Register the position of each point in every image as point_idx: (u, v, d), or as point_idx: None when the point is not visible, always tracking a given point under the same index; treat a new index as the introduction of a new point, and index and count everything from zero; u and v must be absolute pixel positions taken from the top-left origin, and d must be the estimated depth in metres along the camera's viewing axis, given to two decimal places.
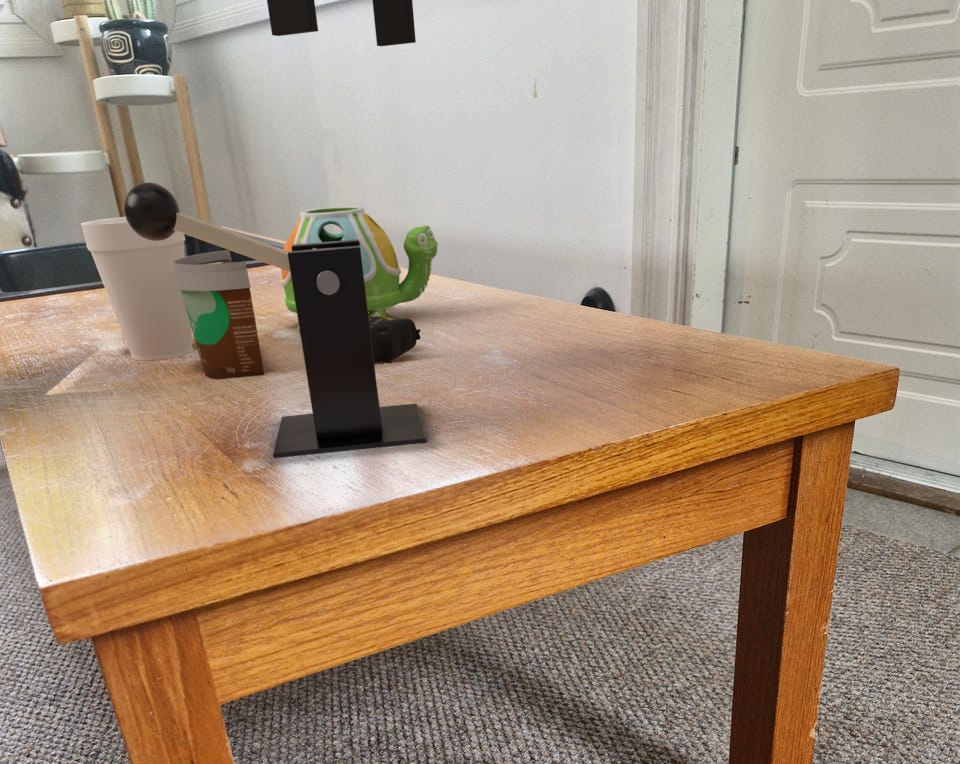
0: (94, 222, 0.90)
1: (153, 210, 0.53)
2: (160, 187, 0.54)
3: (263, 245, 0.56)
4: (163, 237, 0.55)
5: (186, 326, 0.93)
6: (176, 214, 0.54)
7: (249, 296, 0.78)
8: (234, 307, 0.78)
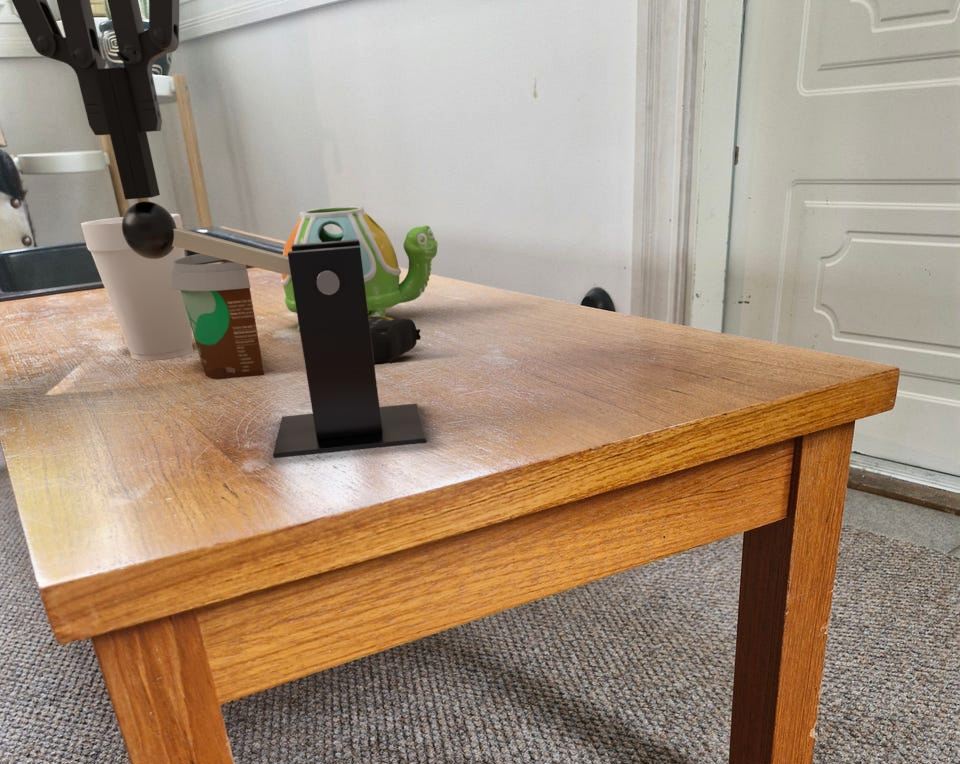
0: (94, 222, 0.90)
1: (150, 228, 0.54)
2: (155, 205, 0.54)
3: (261, 252, 0.56)
4: (163, 254, 0.55)
5: (186, 326, 0.93)
6: (173, 230, 0.55)
7: (249, 296, 0.78)
8: (234, 307, 0.78)
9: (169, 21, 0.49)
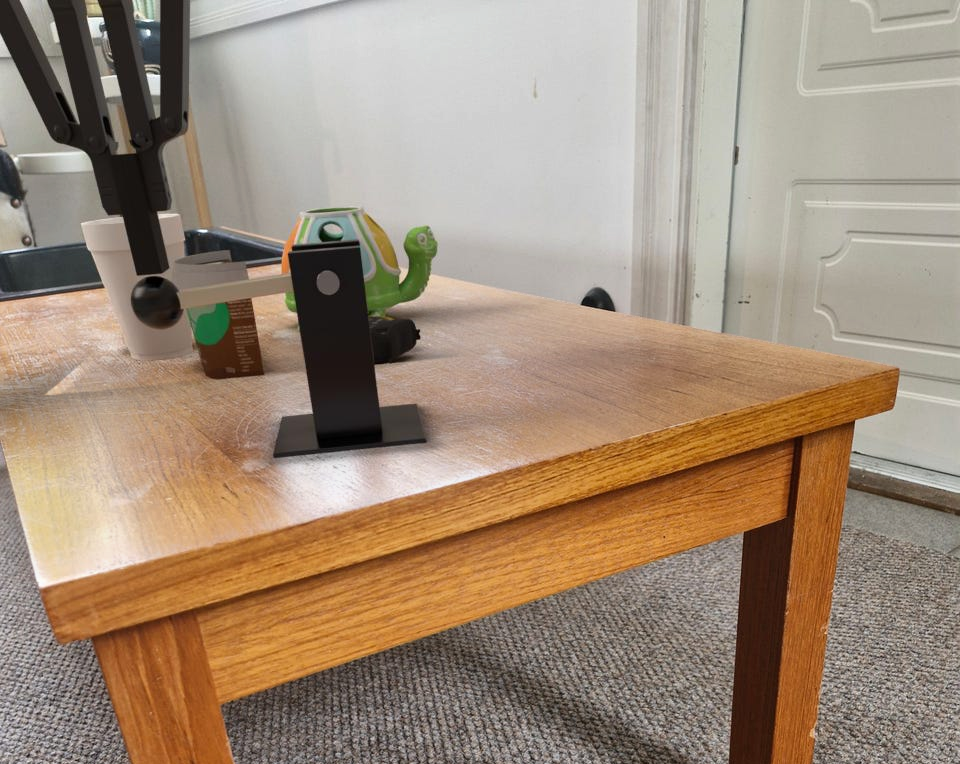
0: (94, 222, 0.90)
1: (156, 301, 0.55)
2: (153, 277, 0.56)
3: (260, 280, 0.57)
4: (176, 320, 0.57)
5: (186, 326, 0.93)
6: (176, 293, 0.56)
7: None
8: (234, 307, 0.78)
9: (179, 110, 0.51)
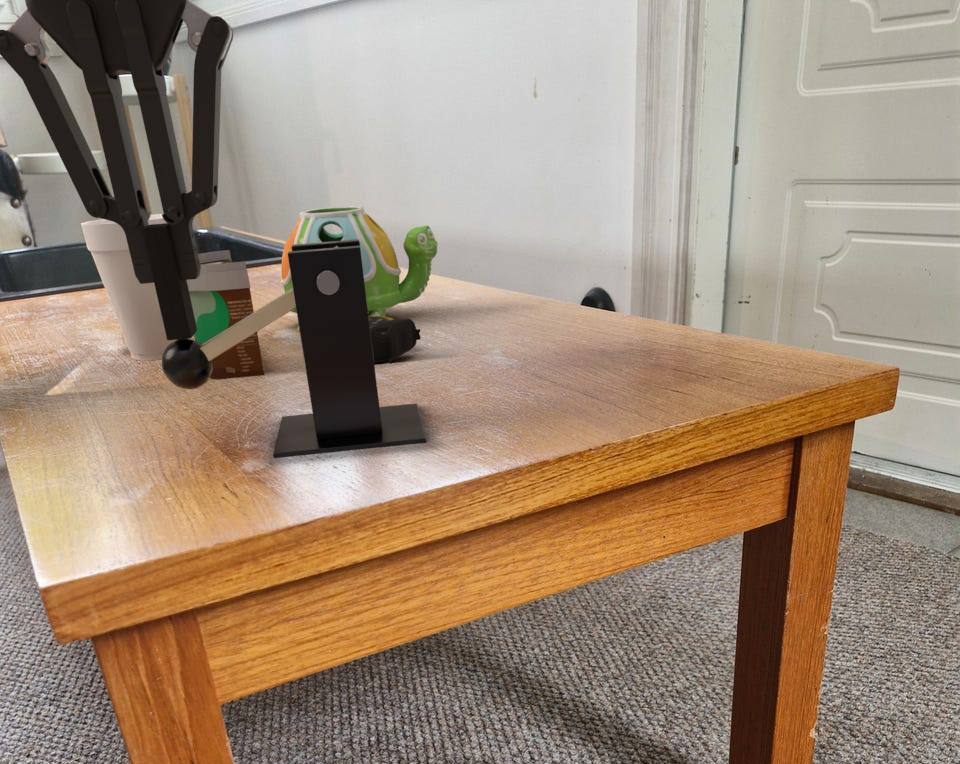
0: (94, 222, 0.90)
1: (184, 362, 0.57)
2: (174, 342, 0.58)
3: (268, 305, 0.57)
4: (208, 373, 0.59)
5: None
6: (200, 349, 0.58)
7: (249, 296, 0.78)
8: (234, 307, 0.78)
9: (210, 185, 0.53)
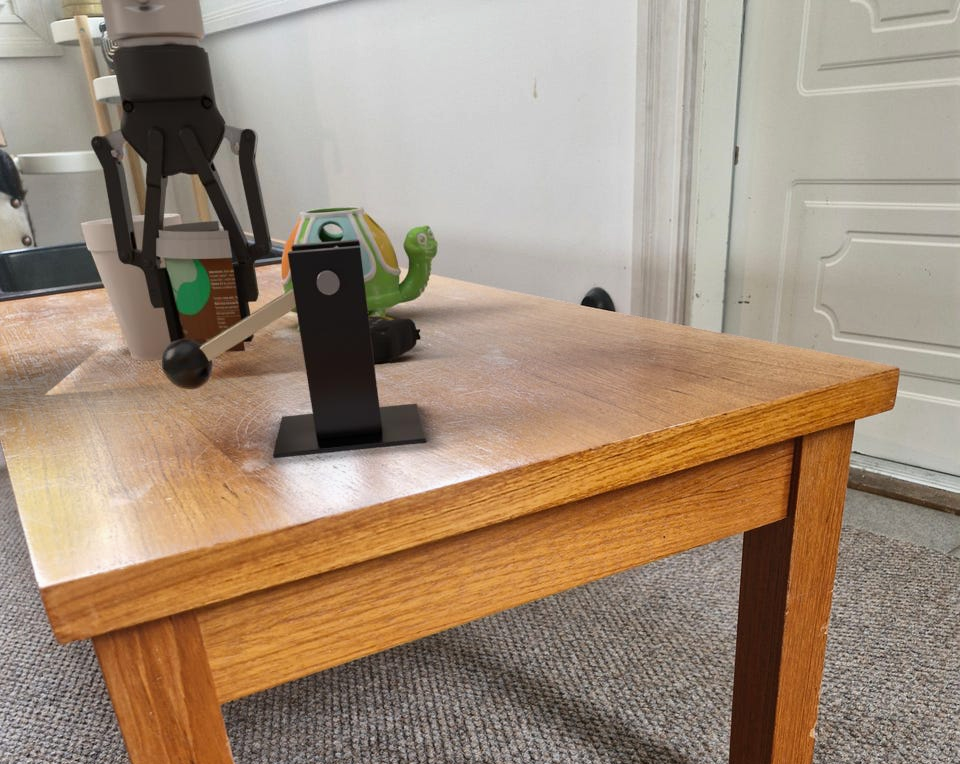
0: (94, 222, 0.90)
1: (184, 363, 0.57)
2: (174, 342, 0.58)
3: (268, 306, 0.57)
4: (208, 373, 0.59)
5: None
6: (200, 349, 0.58)
7: (231, 266, 0.77)
8: (216, 276, 0.77)
9: (266, 238, 0.79)
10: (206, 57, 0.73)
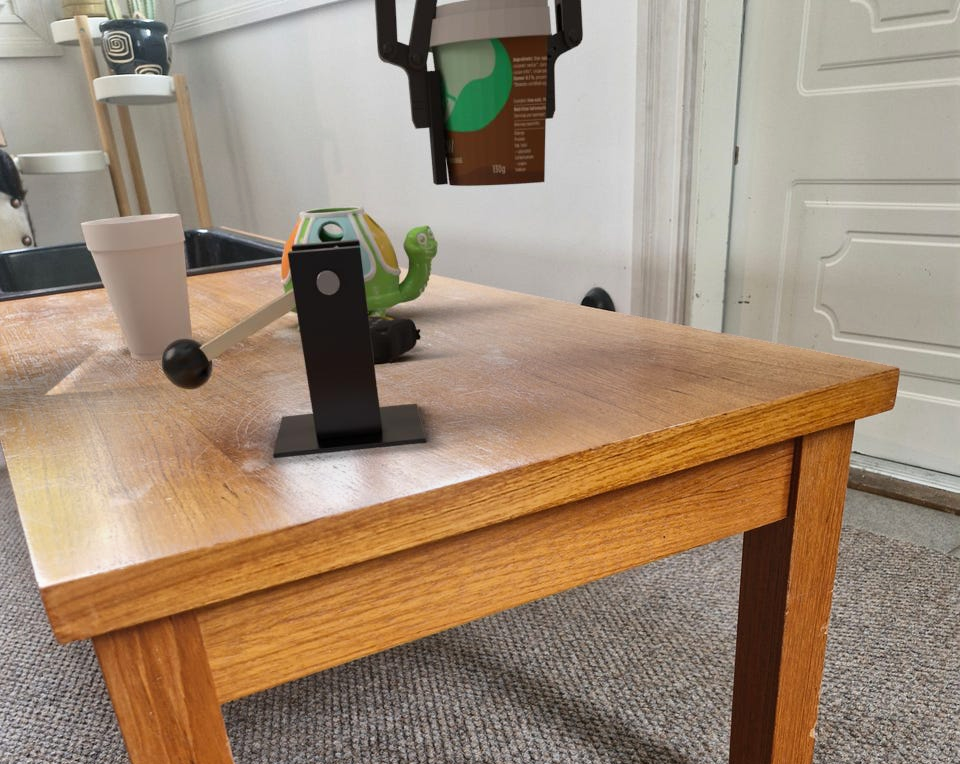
0: (94, 222, 0.90)
1: (184, 363, 0.57)
2: (174, 342, 0.58)
3: (268, 306, 0.57)
4: (208, 373, 0.59)
5: (186, 326, 0.93)
6: (200, 349, 0.58)
7: (543, 52, 0.55)
8: (521, 67, 0.55)
9: (579, 21, 0.57)
10: None
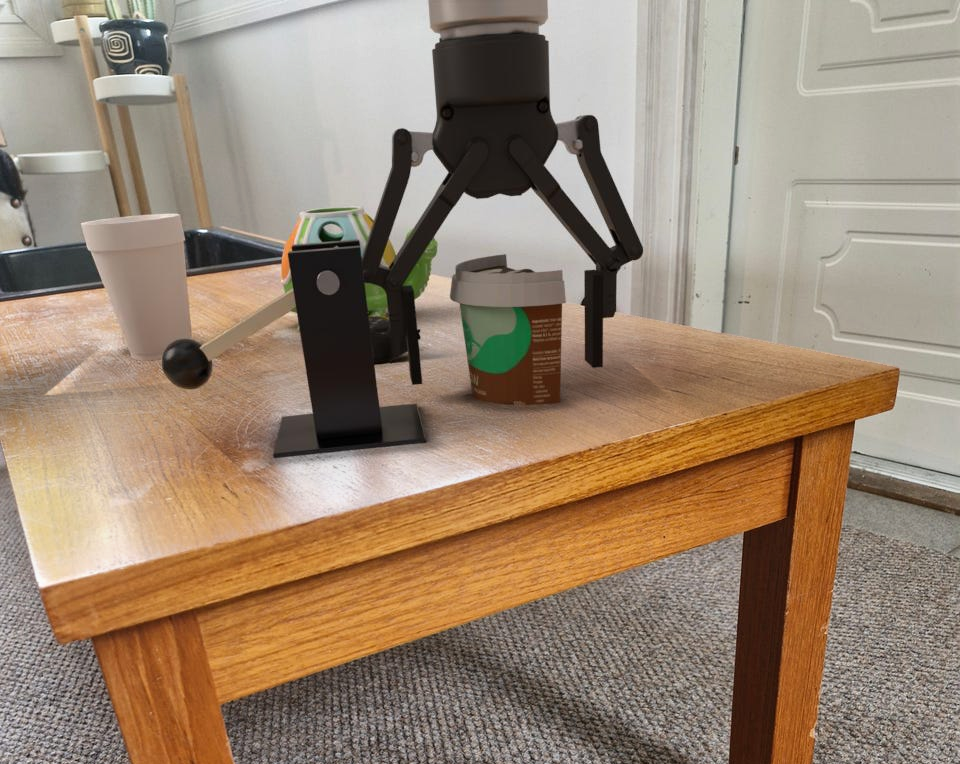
0: (94, 222, 0.90)
1: (184, 363, 0.57)
2: (174, 342, 0.58)
3: (268, 306, 0.57)
4: (208, 373, 0.59)
5: (186, 326, 0.93)
6: (200, 349, 0.58)
7: (559, 314, 0.62)
8: (539, 327, 0.62)
9: (636, 237, 0.63)
10: (548, 48, 0.57)
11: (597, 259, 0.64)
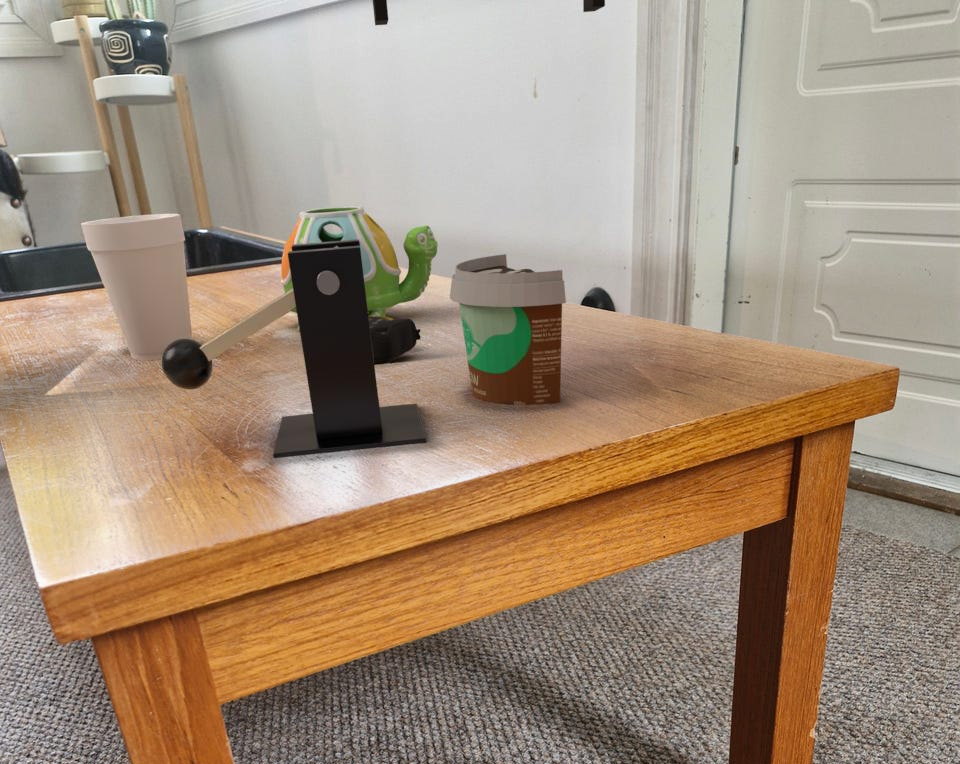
0: (94, 222, 0.90)
1: (184, 363, 0.57)
2: (174, 342, 0.58)
3: (268, 306, 0.57)
4: (208, 373, 0.59)
5: (186, 326, 0.93)
6: (200, 349, 0.58)
7: (558, 313, 0.62)
8: (539, 327, 0.62)
9: None
10: None
11: None
